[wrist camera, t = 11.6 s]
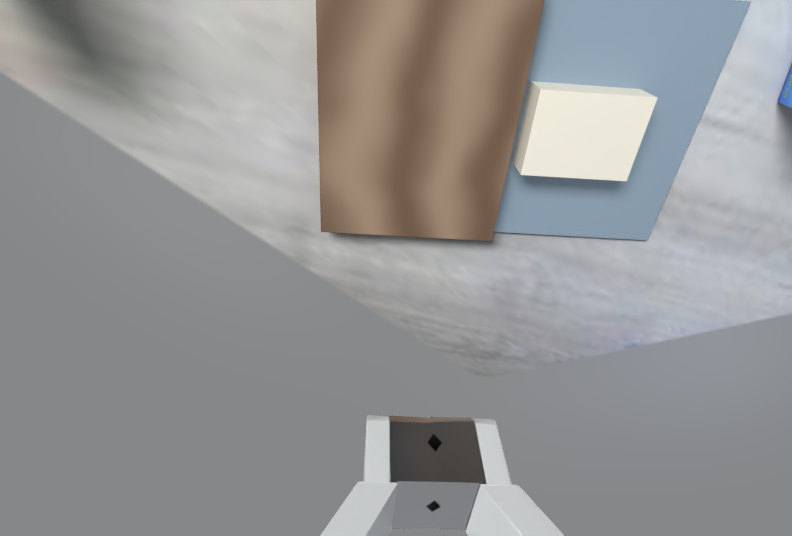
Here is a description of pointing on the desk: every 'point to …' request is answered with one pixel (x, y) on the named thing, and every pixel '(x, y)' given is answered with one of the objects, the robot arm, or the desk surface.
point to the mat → (625, 68)
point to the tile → (582, 131)
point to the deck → (419, 112)
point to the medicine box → (787, 92)
